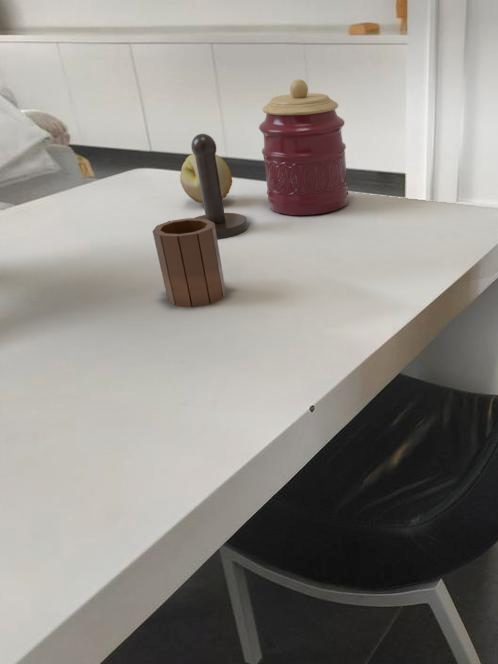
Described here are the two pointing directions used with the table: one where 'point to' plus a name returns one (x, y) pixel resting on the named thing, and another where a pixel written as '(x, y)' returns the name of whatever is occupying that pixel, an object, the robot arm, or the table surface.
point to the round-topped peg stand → (214, 189)
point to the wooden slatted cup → (190, 262)
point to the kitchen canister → (304, 153)
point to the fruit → (191, 178)
